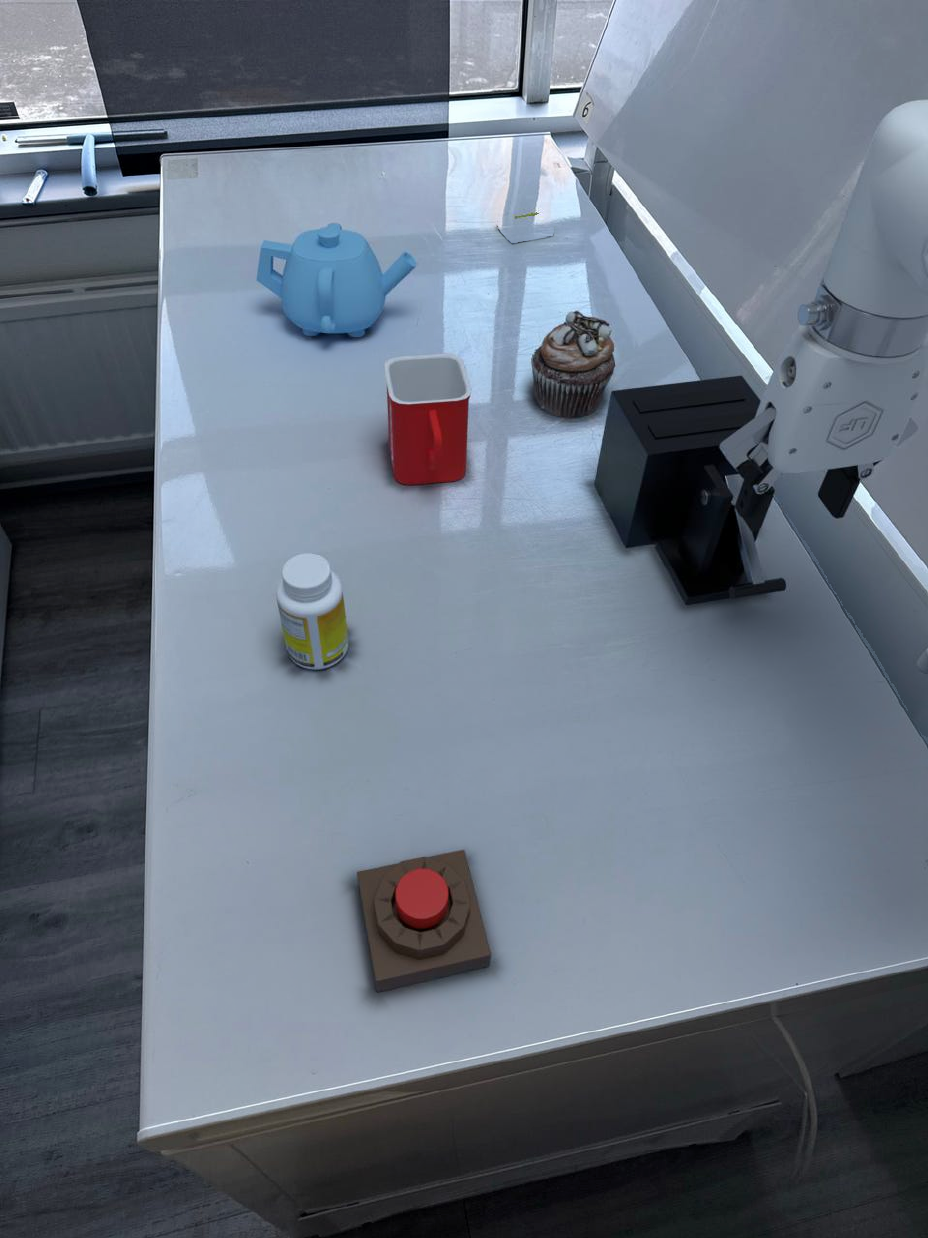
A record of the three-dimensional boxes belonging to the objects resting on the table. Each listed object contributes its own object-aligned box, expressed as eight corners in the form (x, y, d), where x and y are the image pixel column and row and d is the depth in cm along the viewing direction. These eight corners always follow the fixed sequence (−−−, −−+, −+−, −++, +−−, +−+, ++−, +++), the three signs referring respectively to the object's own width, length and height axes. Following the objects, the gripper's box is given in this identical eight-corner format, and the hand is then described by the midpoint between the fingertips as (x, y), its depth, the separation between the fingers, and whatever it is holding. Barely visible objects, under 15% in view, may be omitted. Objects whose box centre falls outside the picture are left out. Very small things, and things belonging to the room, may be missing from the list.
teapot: (254, 353, 111) (238, 262, 102) (271, 284, 122) (259, 196, 113) (415, 357, 111) (414, 267, 102) (419, 288, 122) (418, 201, 113)
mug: (385, 440, 101) (382, 357, 93) (458, 434, 102) (460, 352, 94) (398, 512, 93) (395, 429, 85) (476, 505, 94) (480, 422, 86)
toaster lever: (778, 593, 81) (791, 587, 79) (727, 601, 81) (739, 596, 78) (749, 479, 83) (761, 470, 81) (699, 486, 82) (710, 477, 80)
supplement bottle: (349, 623, 83) (341, 544, 75) (348, 671, 79) (339, 594, 72) (288, 625, 82) (274, 546, 75) (284, 673, 79) (269, 595, 71)
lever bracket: (762, 592, 87) (800, 501, 78) (685, 605, 86) (716, 513, 77) (727, 536, 92) (760, 444, 83) (655, 547, 91) (680, 455, 82)
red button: (453, 922, 61) (453, 912, 60) (401, 934, 60) (400, 924, 59) (441, 874, 63) (442, 863, 62) (391, 884, 63) (390, 874, 61)
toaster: (752, 528, 93) (788, 434, 84) (625, 548, 91) (648, 452, 81) (713, 467, 99) (742, 373, 90) (593, 484, 97) (611, 389, 88)
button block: (489, 966, 63) (492, 945, 60) (376, 992, 61) (374, 972, 58) (463, 862, 68) (464, 838, 65) (358, 884, 66) (355, 860, 63)
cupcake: (541, 367, 111) (549, 292, 103) (616, 386, 109) (631, 310, 101) (516, 410, 105) (523, 334, 97) (595, 430, 103) (609, 354, 95)
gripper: (778, 359, 56) (709, 560, 69) (1018, 331, 59) (907, 529, 72) (727, 297, 60) (672, 497, 74) (952, 274, 63) (860, 470, 77)
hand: (789, 511), depth 73 cm, fingers open, 6 cm apart
